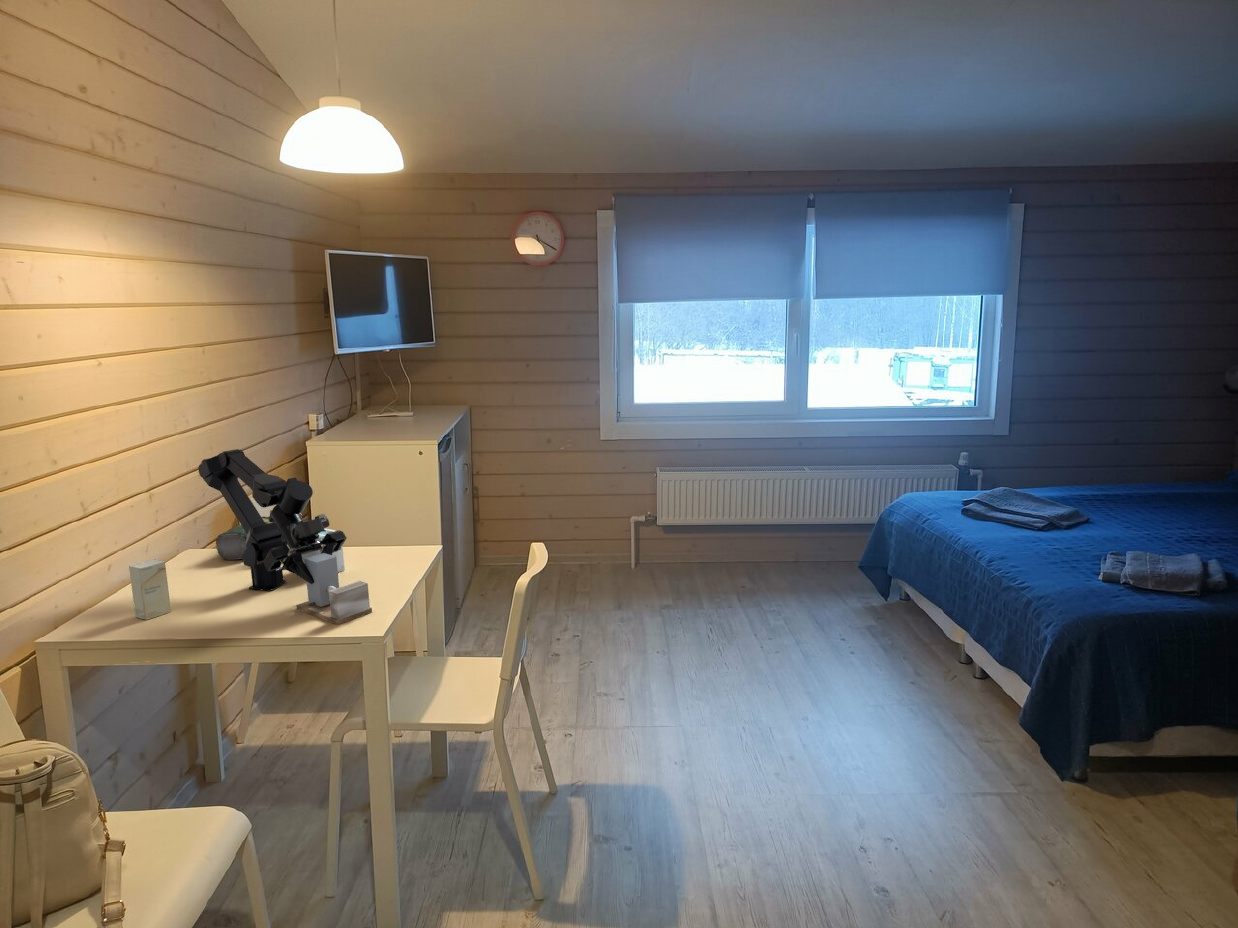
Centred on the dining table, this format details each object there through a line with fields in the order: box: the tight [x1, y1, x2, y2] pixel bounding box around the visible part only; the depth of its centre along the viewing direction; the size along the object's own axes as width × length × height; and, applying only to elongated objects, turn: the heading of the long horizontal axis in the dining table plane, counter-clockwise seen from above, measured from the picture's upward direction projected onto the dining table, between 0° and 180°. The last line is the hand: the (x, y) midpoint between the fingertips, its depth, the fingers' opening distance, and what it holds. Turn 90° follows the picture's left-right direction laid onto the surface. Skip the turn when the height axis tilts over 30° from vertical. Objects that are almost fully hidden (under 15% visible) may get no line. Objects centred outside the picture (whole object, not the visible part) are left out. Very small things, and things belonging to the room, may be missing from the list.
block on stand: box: [295, 580, 373, 626], centre depth 196 cm, size 16×9×7 cm, turn 52°
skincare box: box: [128, 558, 172, 621], centre depth 196 cm, size 6×4×12 cm
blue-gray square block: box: [304, 553, 340, 607], centre depth 197 cm, size 6×6×10 cm
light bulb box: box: [302, 528, 346, 573], centre depth 224 cm, size 11×7×11 cm, turn 57°
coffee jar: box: [215, 516, 275, 561], centre depth 243 cm, size 10×8×19 cm
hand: (323, 579), depth 197 cm, fingers closed on blue-gray square block, 5 cm apart
